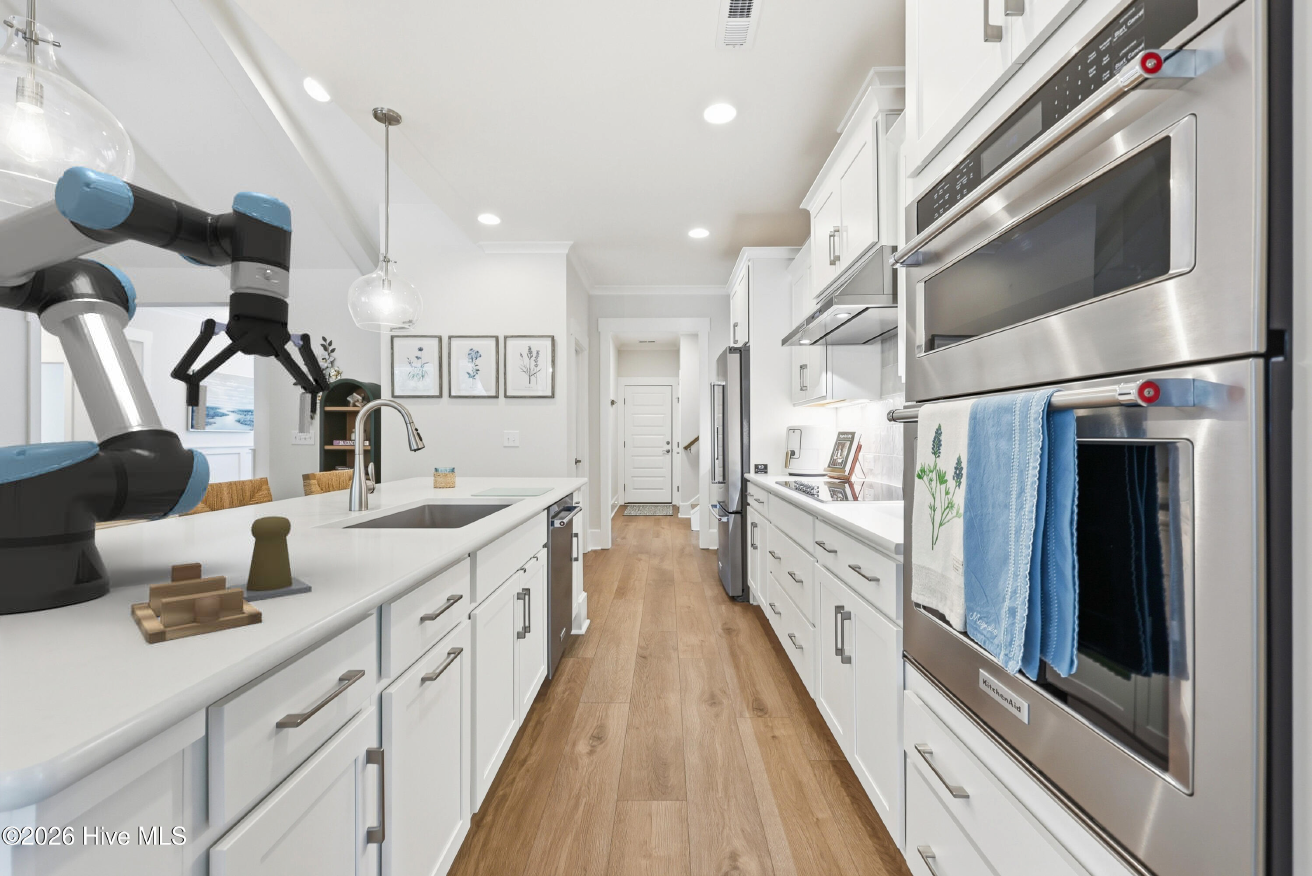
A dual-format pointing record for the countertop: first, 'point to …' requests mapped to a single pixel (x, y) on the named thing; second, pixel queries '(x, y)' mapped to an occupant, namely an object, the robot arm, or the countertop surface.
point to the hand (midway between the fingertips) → (255, 431)
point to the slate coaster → (274, 591)
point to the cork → (270, 555)
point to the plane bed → (192, 606)
